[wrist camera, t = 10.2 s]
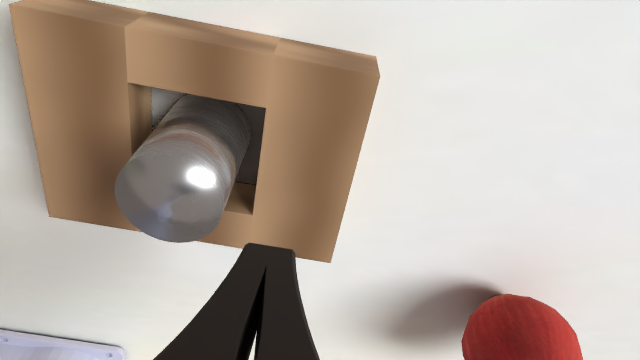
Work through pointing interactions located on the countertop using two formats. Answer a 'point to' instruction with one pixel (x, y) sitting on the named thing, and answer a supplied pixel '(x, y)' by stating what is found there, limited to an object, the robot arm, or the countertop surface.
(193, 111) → the brushed metal cylinder
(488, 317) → the onion
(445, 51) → the countertop surface
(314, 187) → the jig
